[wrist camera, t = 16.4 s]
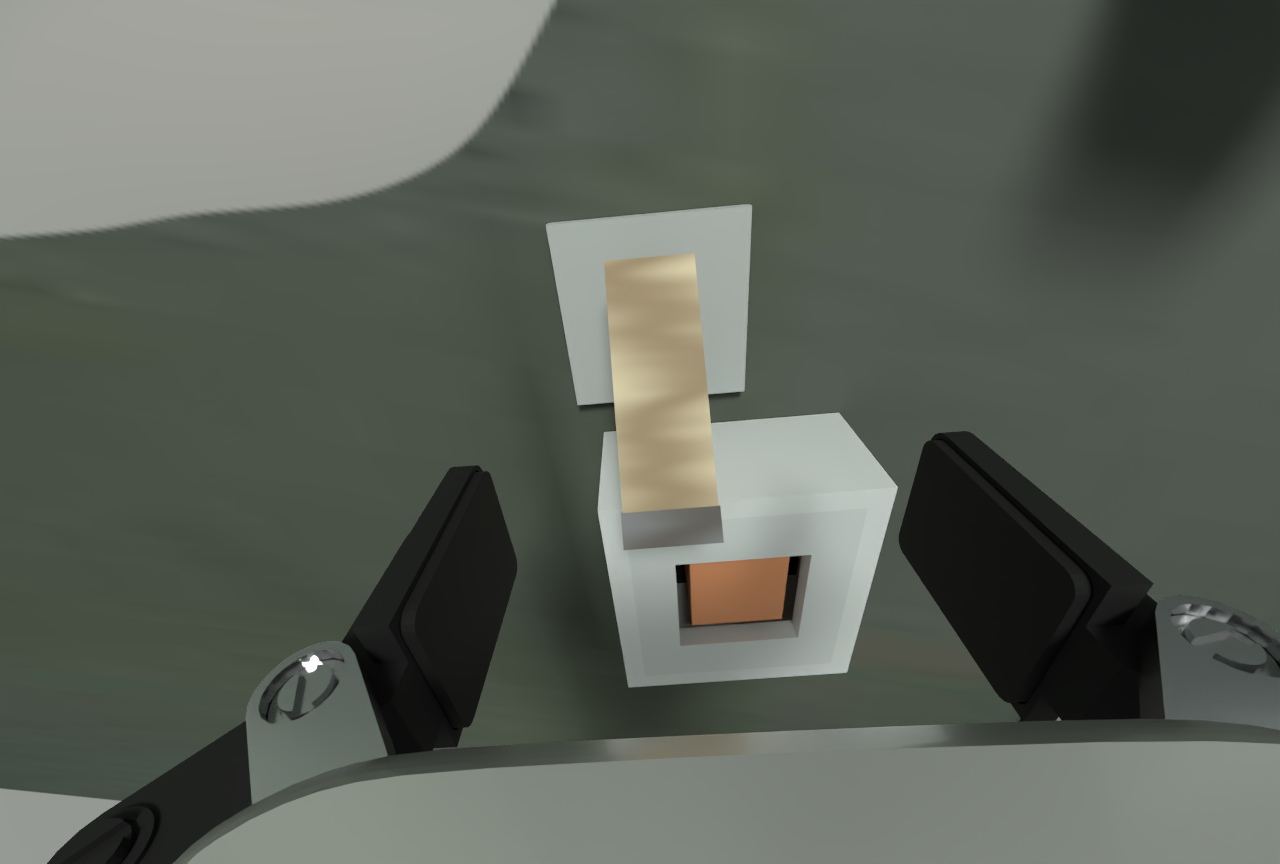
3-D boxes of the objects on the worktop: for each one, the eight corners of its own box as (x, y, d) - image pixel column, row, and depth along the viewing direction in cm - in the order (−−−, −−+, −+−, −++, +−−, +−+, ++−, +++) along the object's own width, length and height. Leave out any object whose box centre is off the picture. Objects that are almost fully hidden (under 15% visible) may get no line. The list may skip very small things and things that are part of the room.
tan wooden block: (696, 252, 16) (723, 542, 15) (688, 290, 19) (711, 531, 18) (602, 260, 16) (623, 550, 15) (610, 297, 19) (629, 537, 18)
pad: (748, 204, 18) (752, 205, 18) (741, 385, 22) (744, 391, 22) (547, 223, 18) (545, 225, 18) (578, 399, 23) (577, 405, 22)
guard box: (838, 412, 23) (897, 487, 18) (809, 583, 30) (846, 672, 25) (604, 432, 24) (597, 510, 19) (628, 597, 31) (628, 687, 25)
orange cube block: (762, 487, 25) (789, 555, 21) (758, 546, 28) (781, 618, 24) (679, 493, 25) (689, 563, 21) (682, 552, 28) (692, 625, 24)
